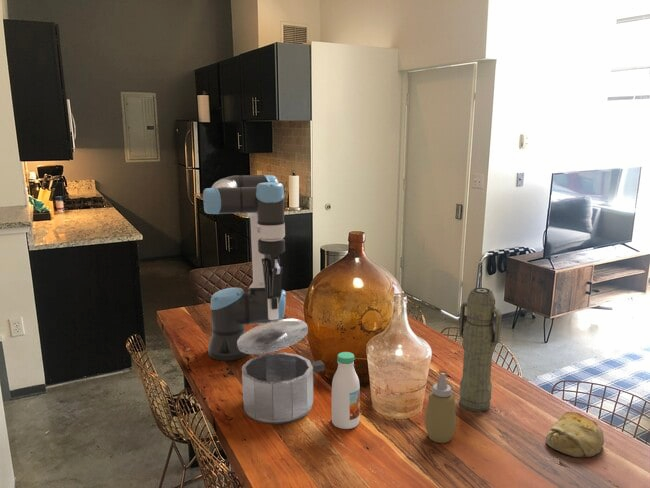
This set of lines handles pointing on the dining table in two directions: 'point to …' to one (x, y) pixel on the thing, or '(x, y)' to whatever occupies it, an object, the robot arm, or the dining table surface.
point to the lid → (272, 336)
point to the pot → (278, 387)
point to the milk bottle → (345, 393)
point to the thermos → (478, 348)
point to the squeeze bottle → (441, 412)
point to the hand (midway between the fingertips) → (273, 318)
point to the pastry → (575, 436)
